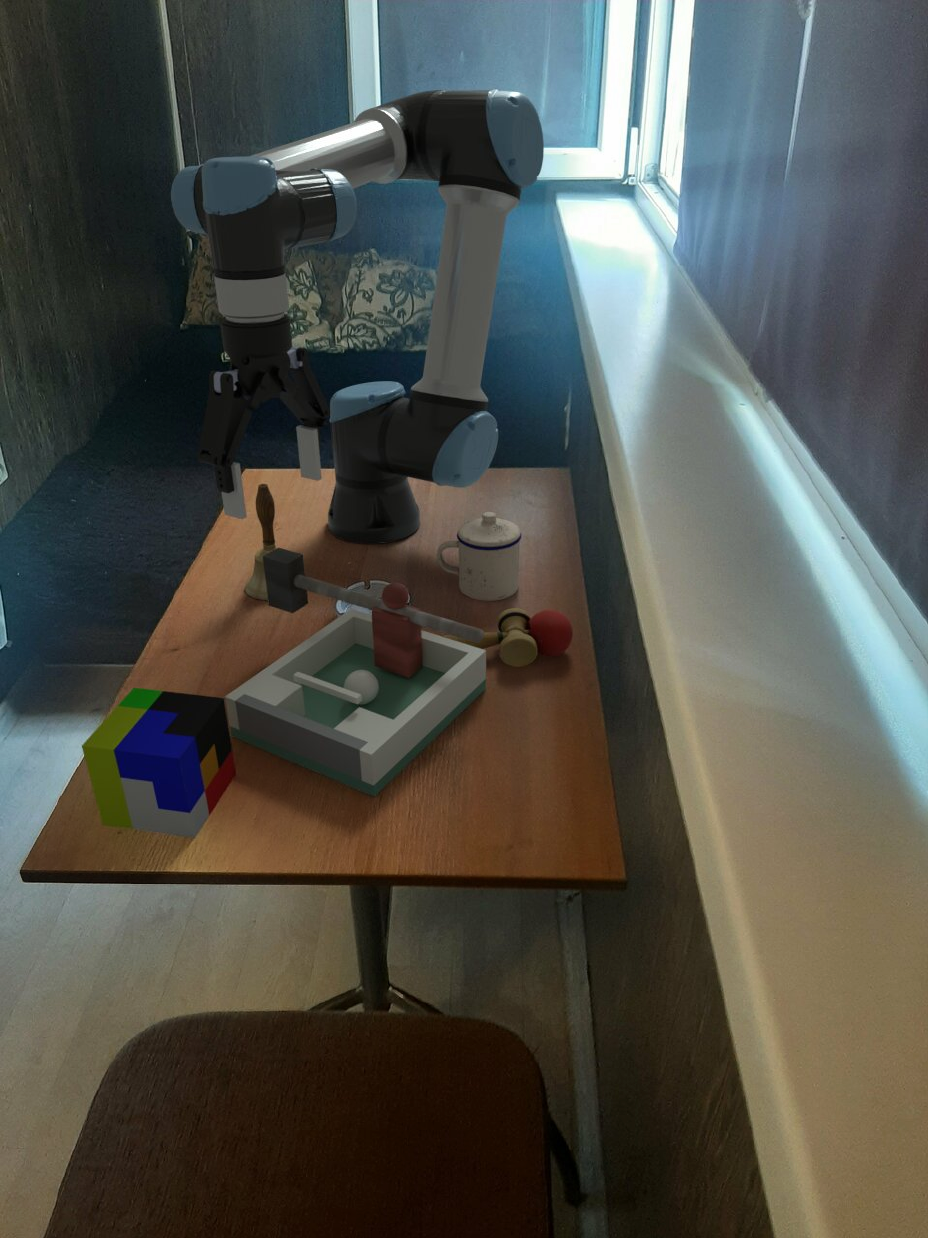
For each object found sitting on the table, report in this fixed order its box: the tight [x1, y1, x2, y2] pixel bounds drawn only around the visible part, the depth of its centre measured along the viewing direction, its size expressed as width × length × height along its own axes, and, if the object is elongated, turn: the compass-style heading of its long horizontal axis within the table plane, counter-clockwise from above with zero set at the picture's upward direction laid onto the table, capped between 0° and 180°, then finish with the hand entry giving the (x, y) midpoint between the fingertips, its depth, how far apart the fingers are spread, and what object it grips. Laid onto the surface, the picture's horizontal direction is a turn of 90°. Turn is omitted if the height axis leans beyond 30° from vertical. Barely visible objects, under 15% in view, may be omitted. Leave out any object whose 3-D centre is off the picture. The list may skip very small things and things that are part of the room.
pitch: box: [224, 608, 487, 797], centre depth 109 cm, size 23×20×7 cm
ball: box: [344, 670, 379, 705], centre depth 109 cm, size 4×4×4 cm
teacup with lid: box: [436, 511, 522, 602], centre depth 135 cm, size 12×9×12 cm
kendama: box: [440, 607, 574, 668], centre depth 121 cm, size 8×6×18 cm
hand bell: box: [244, 483, 278, 601], centre depth 134 cm, size 8×8×16 cm
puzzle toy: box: [81, 687, 237, 839], centre depth 96 cm, size 10×10×10 cm
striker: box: [263, 547, 484, 678], centre depth 114 cm, size 3×30×11 cm, turn 59°
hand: (275, 496), depth 114 cm, fingers open, 13 cm apart
